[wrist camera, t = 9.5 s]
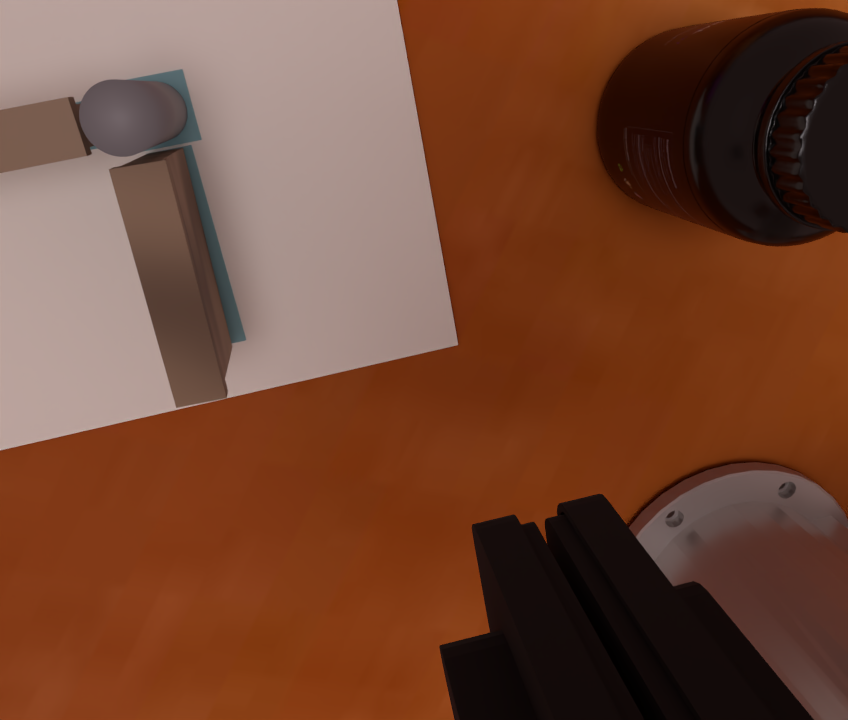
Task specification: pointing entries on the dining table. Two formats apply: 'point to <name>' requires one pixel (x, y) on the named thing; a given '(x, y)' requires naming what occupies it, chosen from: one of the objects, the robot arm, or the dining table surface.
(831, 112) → the supplement bottle
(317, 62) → the fence base
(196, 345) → the fence panel
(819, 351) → the dining table surface
